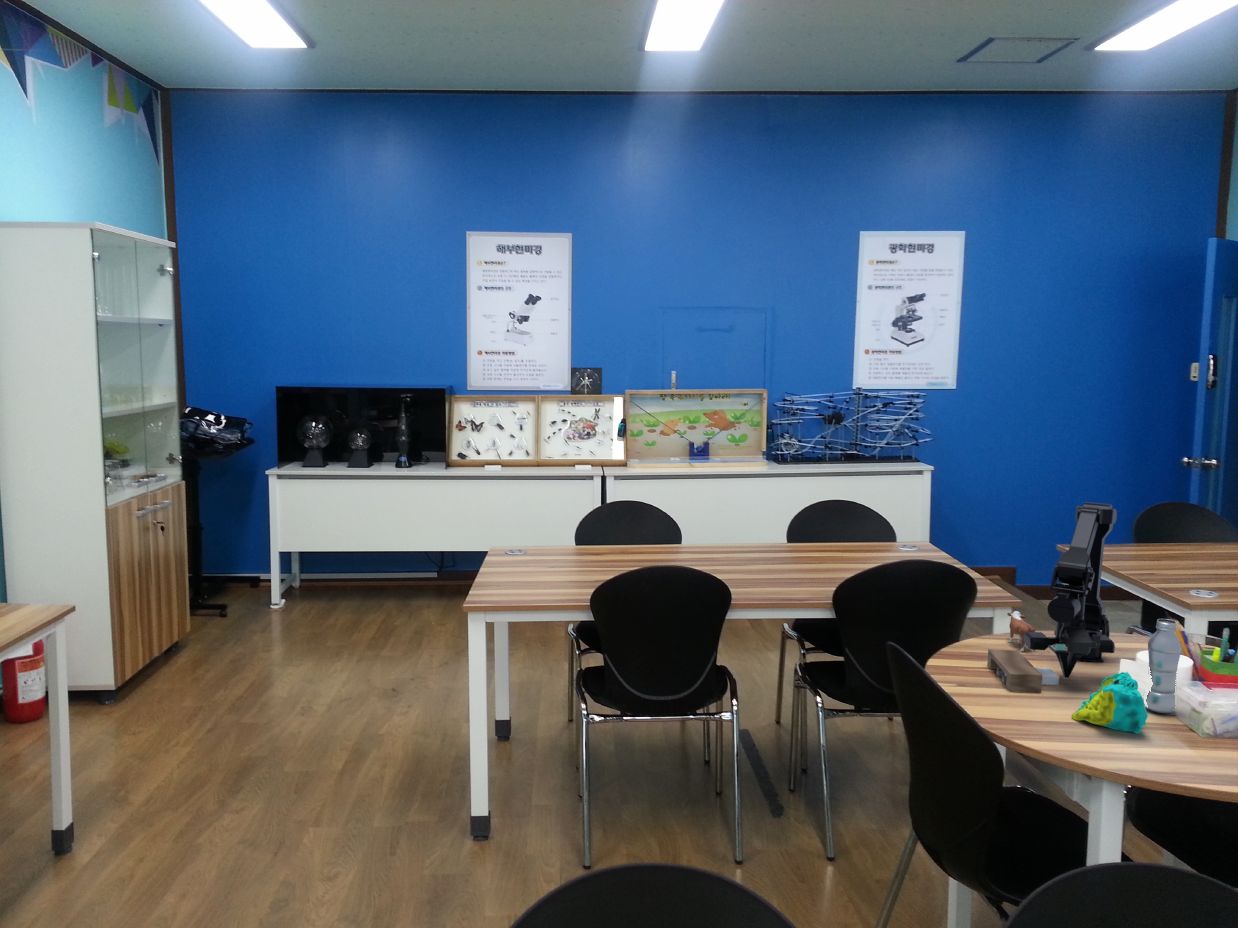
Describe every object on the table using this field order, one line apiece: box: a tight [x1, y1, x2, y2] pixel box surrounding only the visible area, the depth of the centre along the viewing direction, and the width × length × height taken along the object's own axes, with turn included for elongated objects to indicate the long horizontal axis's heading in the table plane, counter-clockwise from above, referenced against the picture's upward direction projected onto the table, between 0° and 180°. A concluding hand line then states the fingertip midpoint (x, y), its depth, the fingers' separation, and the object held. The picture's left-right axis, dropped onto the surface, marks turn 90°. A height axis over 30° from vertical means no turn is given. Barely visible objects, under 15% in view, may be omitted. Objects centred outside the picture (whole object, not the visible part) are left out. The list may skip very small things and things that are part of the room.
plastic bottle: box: [1146, 618, 1182, 714], centre depth 204 cm, size 6×7×20 cm
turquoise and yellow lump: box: [1071, 671, 1149, 735], centre depth 197 cm, size 15×12×13 cm
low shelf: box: [987, 648, 1043, 694], centre depth 224 cm, size 7×18×4 cm, turn 174°
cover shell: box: [1002, 667, 1060, 686], centre depth 224 cm, size 11×6×2 cm, turn 84°
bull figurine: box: [1007, 610, 1036, 653], centre depth 250 cm, size 4×13×8 cm, turn 174°
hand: (1066, 677), depth 224 cm, fingers closed
